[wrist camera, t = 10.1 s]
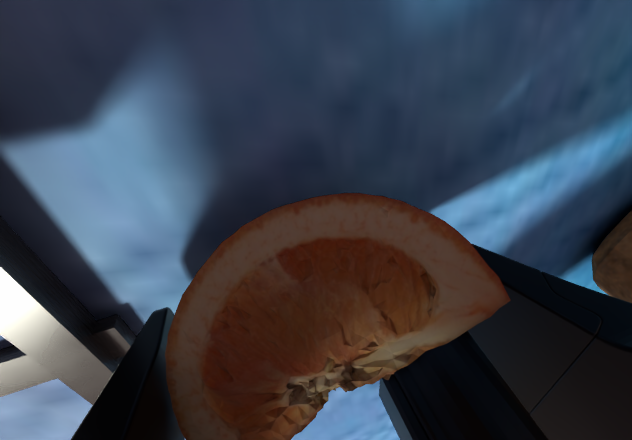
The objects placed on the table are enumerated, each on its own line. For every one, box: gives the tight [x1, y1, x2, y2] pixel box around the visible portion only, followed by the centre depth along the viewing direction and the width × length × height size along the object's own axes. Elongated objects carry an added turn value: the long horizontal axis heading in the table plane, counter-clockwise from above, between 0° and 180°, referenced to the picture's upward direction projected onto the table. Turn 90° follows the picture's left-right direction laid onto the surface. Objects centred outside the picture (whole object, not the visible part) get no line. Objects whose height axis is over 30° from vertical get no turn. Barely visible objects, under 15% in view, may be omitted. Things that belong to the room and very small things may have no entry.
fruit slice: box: [165, 193, 511, 440], centre depth 8 cm, size 8×7×5 cm
